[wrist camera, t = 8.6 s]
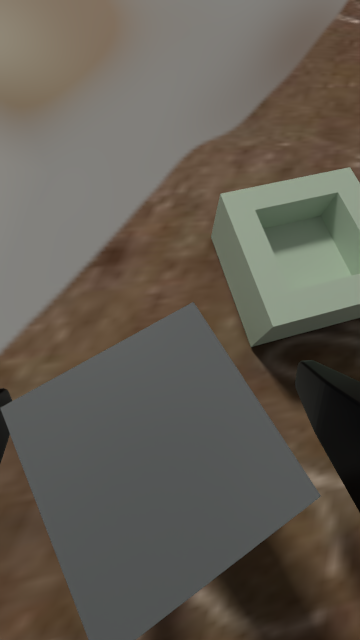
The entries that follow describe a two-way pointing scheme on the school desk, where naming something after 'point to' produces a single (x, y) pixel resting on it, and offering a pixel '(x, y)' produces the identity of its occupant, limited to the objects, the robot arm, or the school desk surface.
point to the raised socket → (292, 253)
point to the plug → (153, 472)
